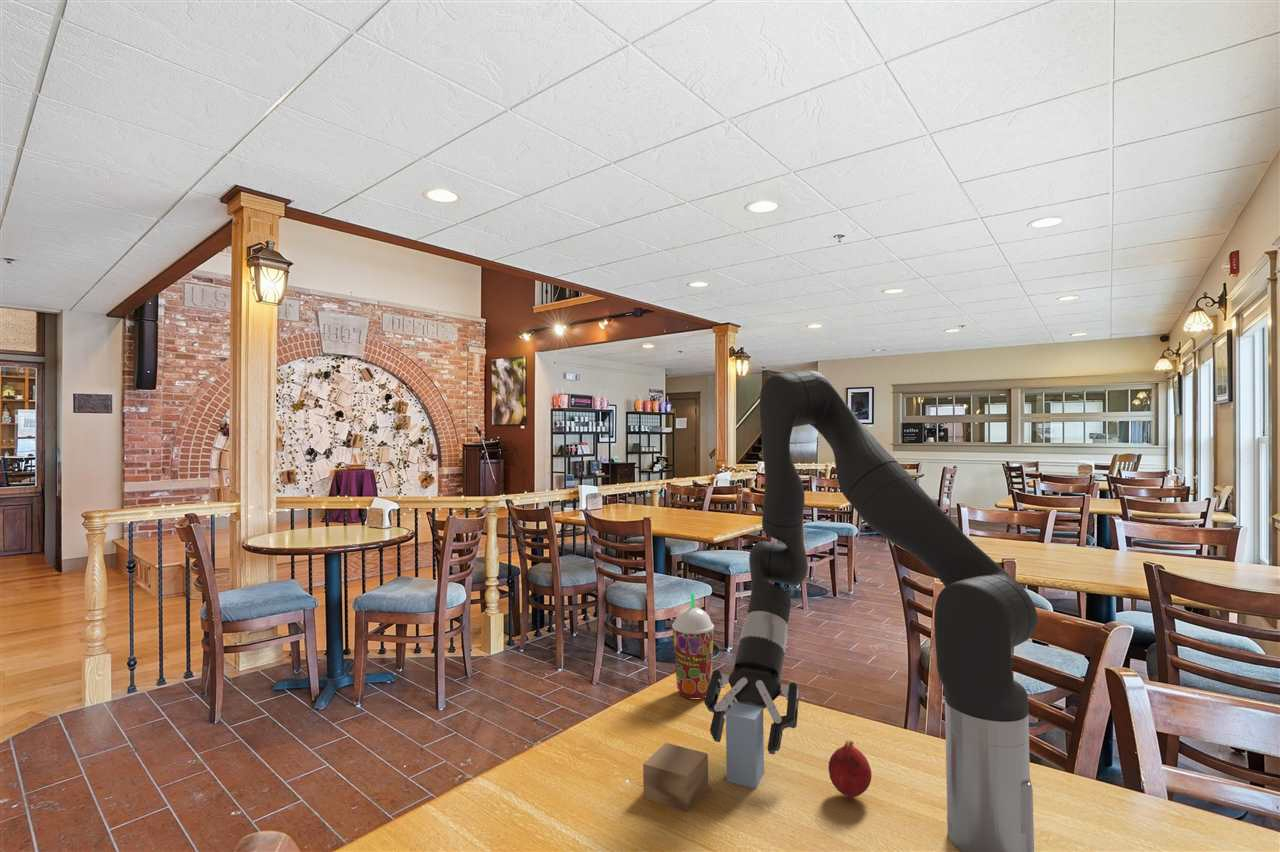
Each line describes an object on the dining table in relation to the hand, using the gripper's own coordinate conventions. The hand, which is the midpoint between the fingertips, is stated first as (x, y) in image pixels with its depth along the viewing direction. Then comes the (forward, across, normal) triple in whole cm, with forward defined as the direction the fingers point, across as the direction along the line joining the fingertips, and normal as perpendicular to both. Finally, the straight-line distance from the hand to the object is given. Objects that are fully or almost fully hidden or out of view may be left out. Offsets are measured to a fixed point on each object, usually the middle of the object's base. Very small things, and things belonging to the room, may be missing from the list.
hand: (743, 746), depth 93 cm
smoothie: (-14, -18, +22) cm, 32 cm away
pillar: (+3, 0, +4) cm, 5 cm away
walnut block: (+9, -8, -1) cm, 12 cm away
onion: (+2, +15, +5) cm, 16 cm away
